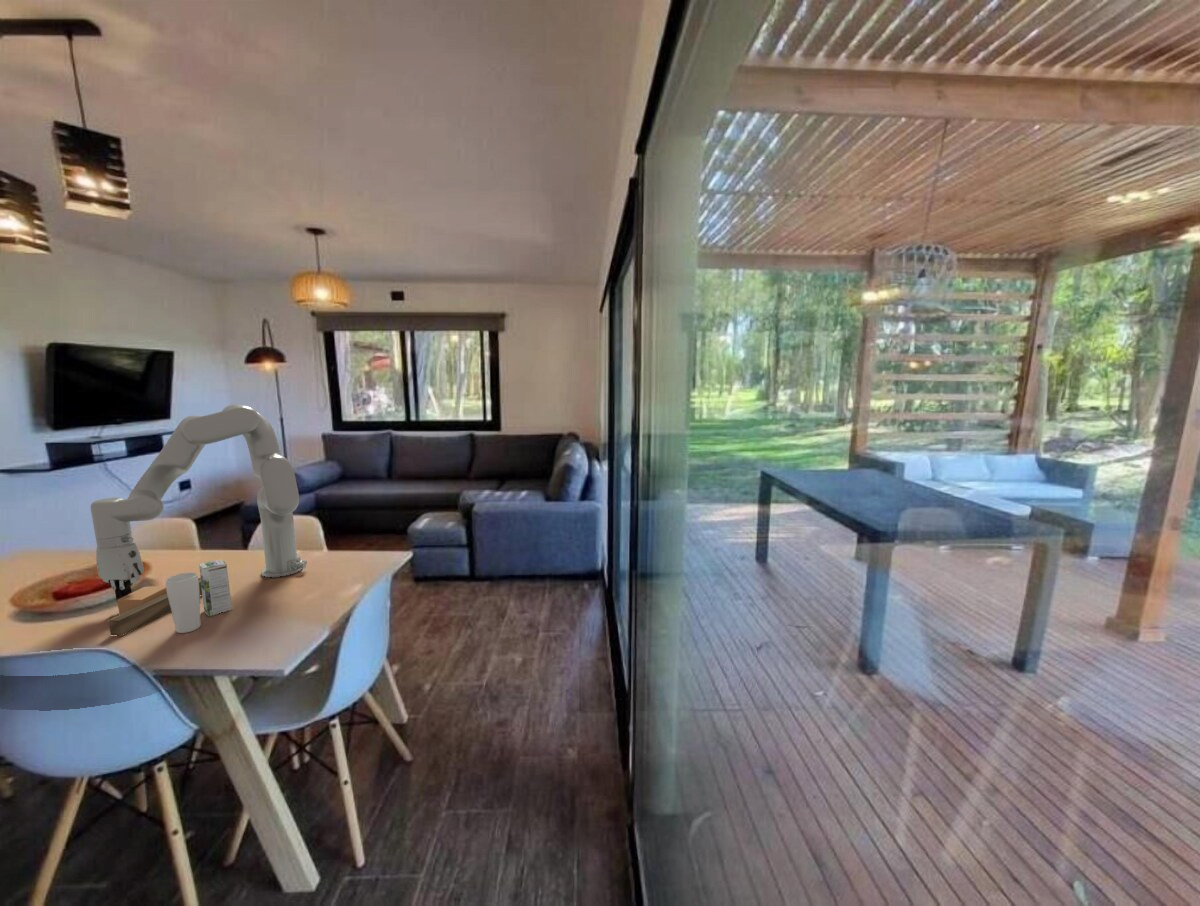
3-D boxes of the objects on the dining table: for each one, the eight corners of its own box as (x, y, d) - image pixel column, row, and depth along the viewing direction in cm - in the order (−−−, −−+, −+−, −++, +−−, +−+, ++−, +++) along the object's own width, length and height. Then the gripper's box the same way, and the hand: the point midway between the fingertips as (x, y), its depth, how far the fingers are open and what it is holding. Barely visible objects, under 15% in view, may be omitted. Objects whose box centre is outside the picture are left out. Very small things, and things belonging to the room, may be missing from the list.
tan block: (171, 605, 153) (168, 586, 152) (145, 619, 144) (142, 599, 143) (147, 605, 153) (145, 586, 152) (120, 619, 144) (117, 599, 143)
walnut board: (209, 591, 162) (207, 578, 162) (121, 636, 135) (118, 620, 134) (200, 591, 162) (199, 578, 162) (110, 636, 135) (108, 620, 134)
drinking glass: (169, 637, 134) (161, 584, 132) (176, 626, 140) (169, 574, 138) (201, 631, 137) (194, 579, 135) (206, 621, 143) (200, 570, 141)
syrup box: (203, 611, 149) (197, 564, 147) (227, 604, 153) (222, 558, 151) (208, 617, 145) (202, 568, 143) (233, 610, 150) (227, 563, 147)
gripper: (151, 537, 149) (160, 595, 152) (104, 536, 151) (114, 594, 153) (125, 545, 142) (136, 607, 145) (76, 544, 143) (87, 605, 146)
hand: (124, 600), depth 149 cm, fingers closed
